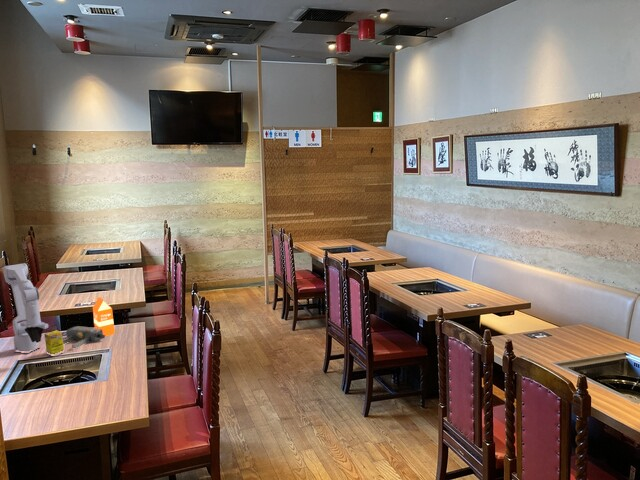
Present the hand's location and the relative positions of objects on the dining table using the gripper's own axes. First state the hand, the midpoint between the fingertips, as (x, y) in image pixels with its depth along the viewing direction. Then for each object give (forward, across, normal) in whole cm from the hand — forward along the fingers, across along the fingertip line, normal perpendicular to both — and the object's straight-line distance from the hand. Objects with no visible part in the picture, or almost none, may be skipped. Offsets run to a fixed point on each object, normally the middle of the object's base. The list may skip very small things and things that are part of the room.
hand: (36, 341), depth 234 cm
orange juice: (+11, +5, +39) cm, 41 cm away
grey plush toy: (+10, +1, +24) cm, 27 cm away
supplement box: (+11, 0, +10) cm, 15 cm away
